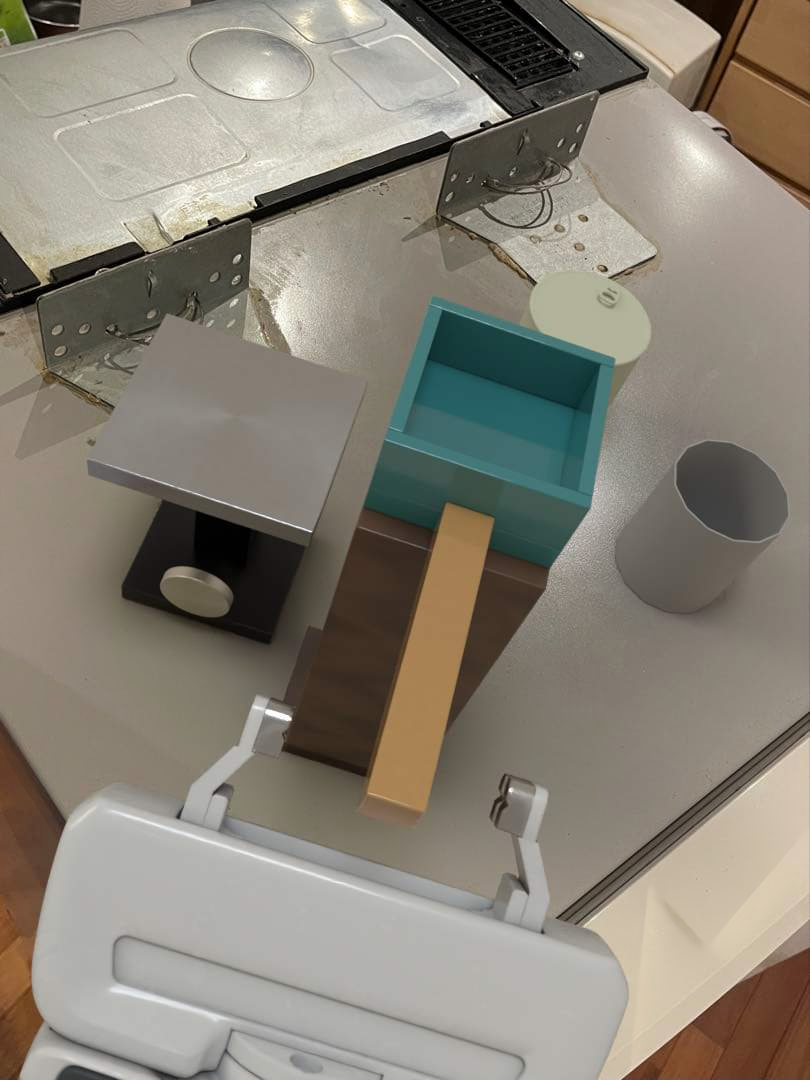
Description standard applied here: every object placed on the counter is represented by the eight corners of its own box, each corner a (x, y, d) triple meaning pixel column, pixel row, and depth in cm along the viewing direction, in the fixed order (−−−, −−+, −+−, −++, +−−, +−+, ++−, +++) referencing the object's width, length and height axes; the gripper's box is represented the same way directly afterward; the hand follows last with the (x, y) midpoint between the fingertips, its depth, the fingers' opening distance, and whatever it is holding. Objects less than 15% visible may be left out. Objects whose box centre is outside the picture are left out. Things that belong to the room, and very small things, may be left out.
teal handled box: (268, 787, 33) (283, 740, 29) (408, 367, 44) (432, 294, 40) (495, 859, 33) (538, 821, 30) (577, 424, 44) (616, 357, 41)
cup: (593, 550, 74) (649, 473, 65) (660, 499, 78) (720, 421, 69) (675, 634, 71) (744, 565, 63) (740, 577, 75) (812, 505, 67)
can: (611, 414, 81) (675, 311, 71) (560, 483, 76) (622, 382, 66) (518, 354, 83) (568, 245, 73) (462, 418, 78) (508, 310, 68)
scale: (100, 605, 63) (86, 458, 50) (164, 474, 69) (166, 312, 56) (279, 663, 64) (313, 533, 50) (327, 528, 70) (368, 380, 56)
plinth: (268, 746, 61) (331, 518, 39) (306, 635, 65) (381, 376, 43) (422, 795, 61) (570, 597, 39) (449, 681, 66) (595, 448, 44)
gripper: (581, 1269, 32) (706, 852, 33) (-37, 1085, 31) (111, 660, 32) (541, 1156, 38) (647, 809, 39) (27, 1001, 37) (148, 648, 38)
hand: (402, 741), depth 35 cm, fingers open, 8 cm apart
